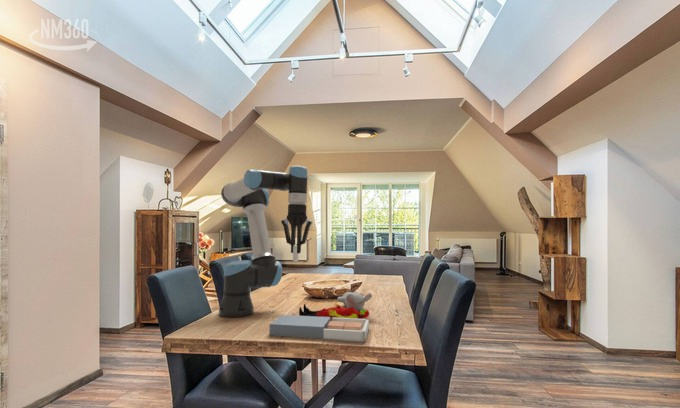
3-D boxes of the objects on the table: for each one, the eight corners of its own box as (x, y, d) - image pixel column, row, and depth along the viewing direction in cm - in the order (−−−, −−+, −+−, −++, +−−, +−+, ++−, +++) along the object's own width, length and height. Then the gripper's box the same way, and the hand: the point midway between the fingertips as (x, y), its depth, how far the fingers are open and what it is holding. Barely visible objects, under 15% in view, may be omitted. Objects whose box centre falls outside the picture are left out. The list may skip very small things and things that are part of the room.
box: (323, 339, 126) (323, 329, 126) (332, 326, 143) (332, 317, 143) (364, 342, 124) (364, 331, 124) (368, 328, 140) (368, 319, 141)
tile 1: (327, 333, 132) (327, 325, 132) (330, 328, 137) (330, 320, 138) (343, 334, 130) (343, 326, 131) (346, 329, 136) (346, 321, 136)
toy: (336, 310, 181) (346, 317, 152) (336, 290, 183) (346, 293, 153) (359, 309, 183) (374, 316, 154) (359, 289, 184) (373, 293, 155)
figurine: (305, 301, 165) (370, 302, 159) (306, 314, 165) (371, 316, 159) (297, 308, 153) (366, 309, 147) (297, 322, 153) (367, 324, 147)
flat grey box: (269, 335, 131) (269, 324, 131) (281, 324, 145) (281, 314, 145) (323, 338, 128) (323, 327, 128) (330, 327, 141) (330, 317, 142)
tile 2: (360, 327, 130) (360, 335, 129) (362, 322, 136) (362, 330, 135) (344, 326, 131) (343, 334, 130) (346, 321, 137) (346, 329, 136)
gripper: (279, 203, 146) (277, 261, 145) (310, 203, 144) (308, 263, 143) (285, 203, 153) (283, 259, 152) (314, 204, 151) (313, 260, 150)
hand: (295, 261), depth 148 cm, fingers closed
